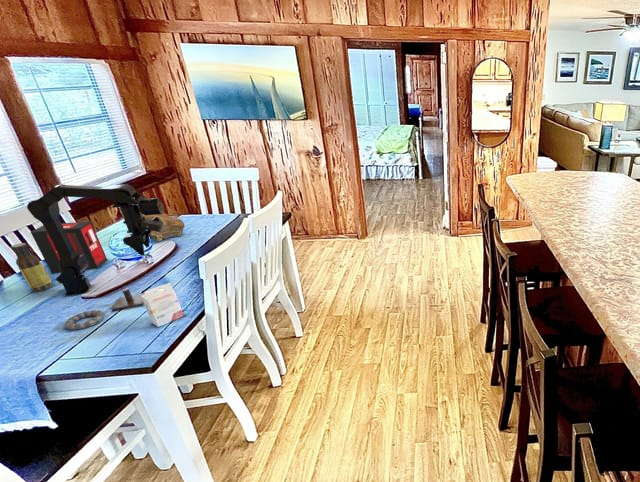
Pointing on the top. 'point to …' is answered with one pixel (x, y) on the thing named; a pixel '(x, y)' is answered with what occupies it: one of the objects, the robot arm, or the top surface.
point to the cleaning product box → (81, 240)
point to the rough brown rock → (166, 227)
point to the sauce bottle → (31, 268)
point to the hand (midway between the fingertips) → (145, 251)
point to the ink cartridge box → (162, 305)
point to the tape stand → (128, 300)
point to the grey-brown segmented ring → (77, 317)
